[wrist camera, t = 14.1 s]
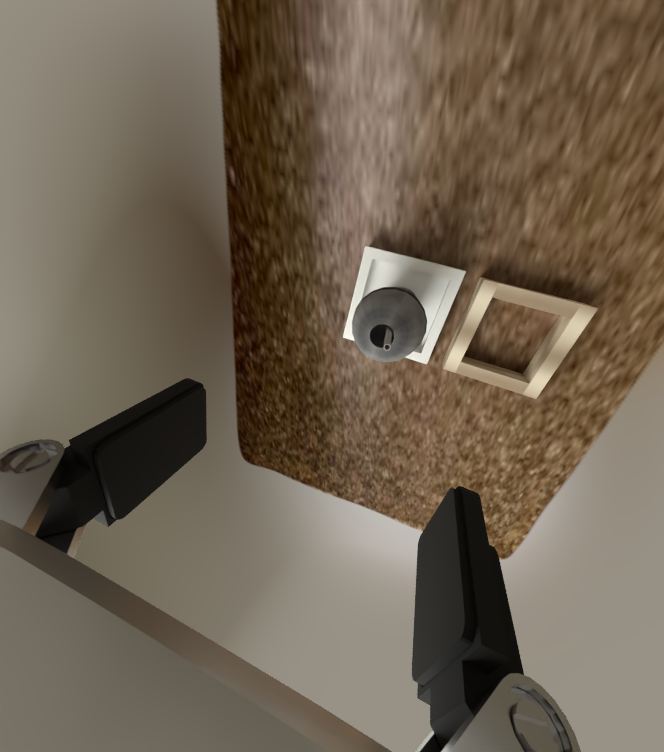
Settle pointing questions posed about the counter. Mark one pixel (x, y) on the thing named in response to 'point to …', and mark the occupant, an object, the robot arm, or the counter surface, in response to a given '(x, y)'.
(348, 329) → the white tray
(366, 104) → the counter surface
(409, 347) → the beverage cup
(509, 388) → the wood holder
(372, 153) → the counter surface
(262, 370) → the counter surface
